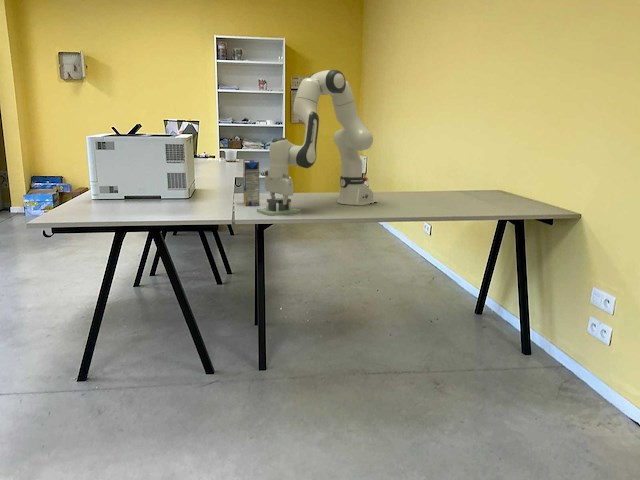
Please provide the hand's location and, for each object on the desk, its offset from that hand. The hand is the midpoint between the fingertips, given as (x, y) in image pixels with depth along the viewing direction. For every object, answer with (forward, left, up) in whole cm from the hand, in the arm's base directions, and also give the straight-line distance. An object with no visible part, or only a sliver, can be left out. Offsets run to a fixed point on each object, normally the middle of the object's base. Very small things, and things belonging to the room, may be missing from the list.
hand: (278, 202), depth 228 cm
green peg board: (0, 0, -4) cm, 4 cm away
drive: (0, 0, -3) cm, 3 cm away
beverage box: (+1, -25, -5) cm, 25 cm away
